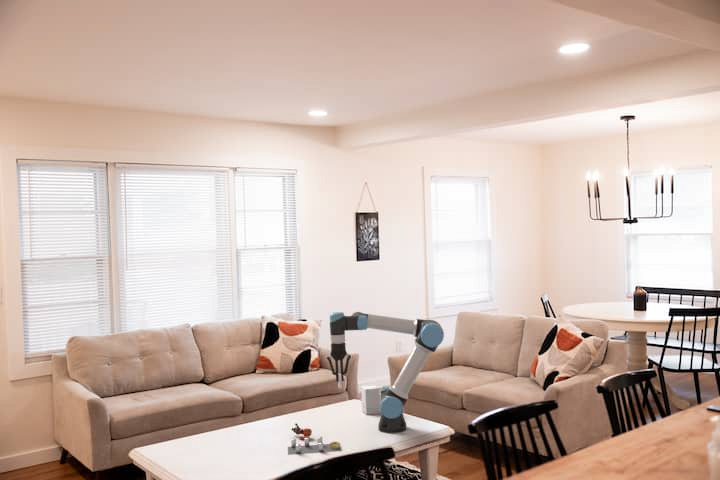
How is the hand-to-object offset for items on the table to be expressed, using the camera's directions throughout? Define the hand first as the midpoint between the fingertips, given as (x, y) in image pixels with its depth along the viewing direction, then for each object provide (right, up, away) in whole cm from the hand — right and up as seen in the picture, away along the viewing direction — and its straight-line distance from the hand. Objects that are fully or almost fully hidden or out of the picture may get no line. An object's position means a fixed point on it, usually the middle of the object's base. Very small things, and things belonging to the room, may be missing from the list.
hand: (340, 387), depth 344 cm
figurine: (-20, -27, +1) cm, 33 cm away
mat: (-12, -27, -18) cm, 34 cm away
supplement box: (+17, -25, +46) cm, 55 cm away
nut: (-2, -26, -18) cm, 31 cm away
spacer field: (-16, -26, -19) cm, 36 cm away
